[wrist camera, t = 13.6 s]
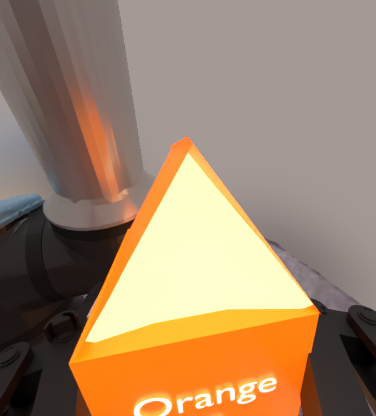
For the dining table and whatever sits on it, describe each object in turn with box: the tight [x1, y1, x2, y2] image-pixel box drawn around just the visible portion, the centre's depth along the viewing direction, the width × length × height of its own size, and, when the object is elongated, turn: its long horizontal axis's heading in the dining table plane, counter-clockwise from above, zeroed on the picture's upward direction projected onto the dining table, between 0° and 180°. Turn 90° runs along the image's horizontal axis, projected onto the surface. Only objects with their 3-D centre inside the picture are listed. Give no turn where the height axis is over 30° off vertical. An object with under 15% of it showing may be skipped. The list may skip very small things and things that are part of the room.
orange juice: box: [69, 137, 320, 416], centre depth 11 cm, size 8×9×20 cm
